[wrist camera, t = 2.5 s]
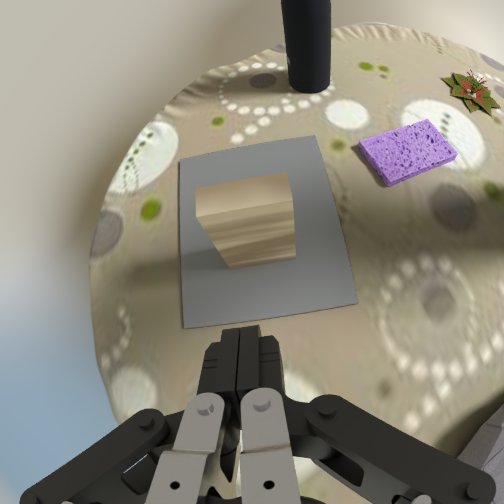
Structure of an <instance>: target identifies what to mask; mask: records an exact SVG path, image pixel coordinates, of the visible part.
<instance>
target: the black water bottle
mask: <svg viewBox="0 0 504 504" xmlns="http://www.w3.org/2000/svg"><path fill="white" fill-rule="evenodd" d="M281 7H282V15H283V24H284V34H285V43H286V53H287V64H288V75H289V83H290V85H291V86H292V87H293V88H294V89H296V90H297V91H300V92H304V93H317V92H321V91H323V90H325V89H326V88H327V87H328V86H329V84H330V66H331V2H330V0H281Z"/></svg>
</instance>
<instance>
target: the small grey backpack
mask: <svg viewBox="0 0 504 504" xmlns="http://www.w3.org/2000/svg"><path fill="white" fill-rule="evenodd" d="M457 459H458V460H460V461H462V462H464V463H466V464H469V465H471V466H473V467H475V468H477V469H480V470H482V471H484V472H486V473H488V474H489V475H491V476H492V477H493V479H494V481H495V483H496V494H495V497H494V499H493V501H492V502H491V504H504V404H503V405H502V406H501V407H500V408H499V409H498V410H497V411H496V412H495V413H494V414H493V415H492V416H491V417H490V418H489V419H488V420H487V421H486V422H485V423H484V424H483V425H482V426H481V427H480V428H479V430H478V431H477V433H476V434H475V435H474V437H473V438H472V439H471V441H470V442H469V443H468V445H467V446H466V447H465V449H464V450H463V451H462V452H461V454H460V455H459V456H458V457H457Z"/></svg>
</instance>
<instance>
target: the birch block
mask: <svg viewBox="0 0 504 504" xmlns="http://www.w3.org/2000/svg"><path fill="white" fill-rule="evenodd" d="M195 200H196V218H197V219H198V221H199V222H200V224H201V226H202V227H203V229H204V230H205V232H206V233H207V235H208V236H209V238H210V239H211V241H212V242H213V244H214V246H215V247H216V249H217V250H218V252H219V253H220V255H221V256H222V258H223V259H224V261H225V262H226V264H227V265H228V267H229V268H230V269H236V268H243V267H249V266H255V265H262V264H268V263H274V262H281V261H287V260H293V259H296V246H295V227H294V209H293V198H292V193H291V188H290V184H289V179H288V174H287V172H283V173H277V174H271V175H265V176H259V177H253V178H248V179H242V180H237V181H231V182H226V183H221V184H215V185H210V186H205V187H200V188H196V189H195Z"/></svg>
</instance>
